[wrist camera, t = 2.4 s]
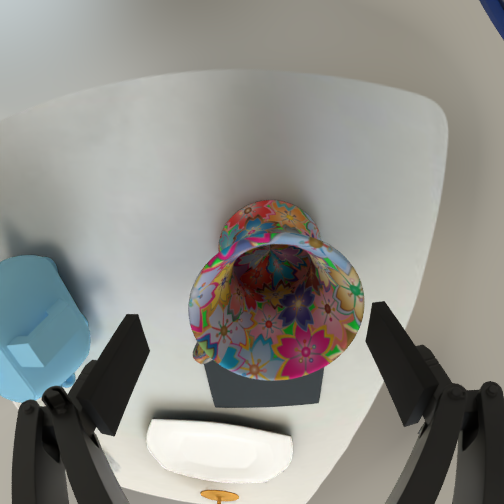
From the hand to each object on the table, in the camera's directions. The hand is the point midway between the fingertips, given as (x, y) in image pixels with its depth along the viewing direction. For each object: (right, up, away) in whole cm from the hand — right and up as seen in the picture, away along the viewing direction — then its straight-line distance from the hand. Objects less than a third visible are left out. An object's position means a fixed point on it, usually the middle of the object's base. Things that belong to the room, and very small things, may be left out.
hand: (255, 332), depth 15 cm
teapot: (-25, 0, +12) cm, 28 cm away
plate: (-5, -27, +22) cm, 35 cm away
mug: (0, +4, +10) cm, 10 cm away
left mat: (+1, -9, +15) cm, 17 cm away
